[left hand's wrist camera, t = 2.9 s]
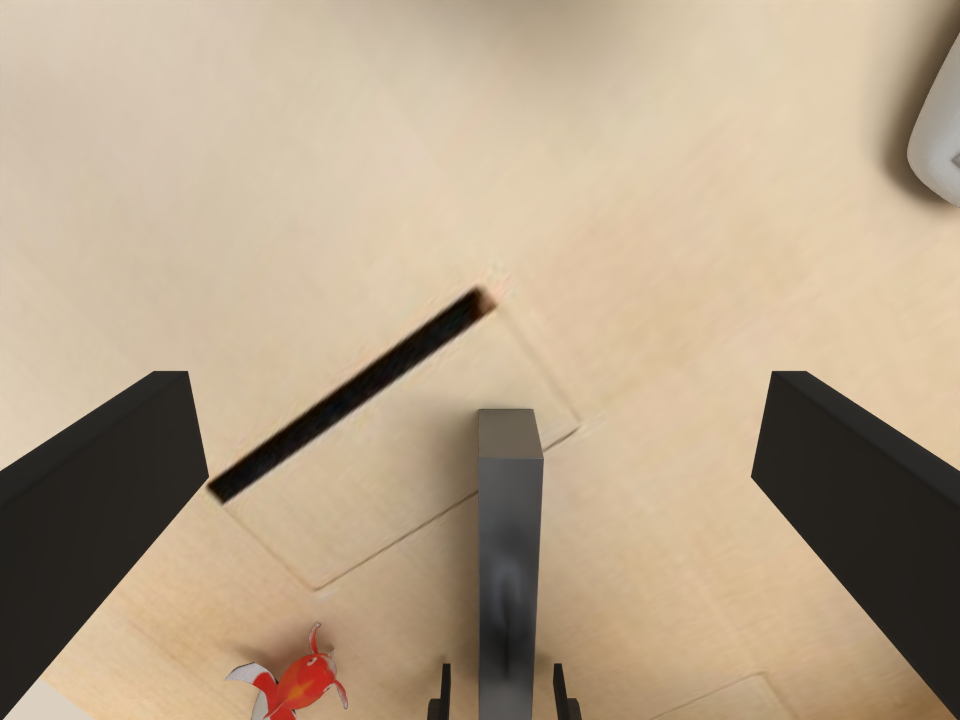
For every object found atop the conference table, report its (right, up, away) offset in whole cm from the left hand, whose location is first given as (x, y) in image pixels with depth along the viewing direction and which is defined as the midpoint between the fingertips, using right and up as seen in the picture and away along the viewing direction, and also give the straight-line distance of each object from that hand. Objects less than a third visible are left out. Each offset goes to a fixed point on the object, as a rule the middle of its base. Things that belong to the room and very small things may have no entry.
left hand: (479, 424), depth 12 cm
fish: (-19, -31, +46) cm, 58 cm away
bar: (+2, -18, +41) cm, 45 cm away
